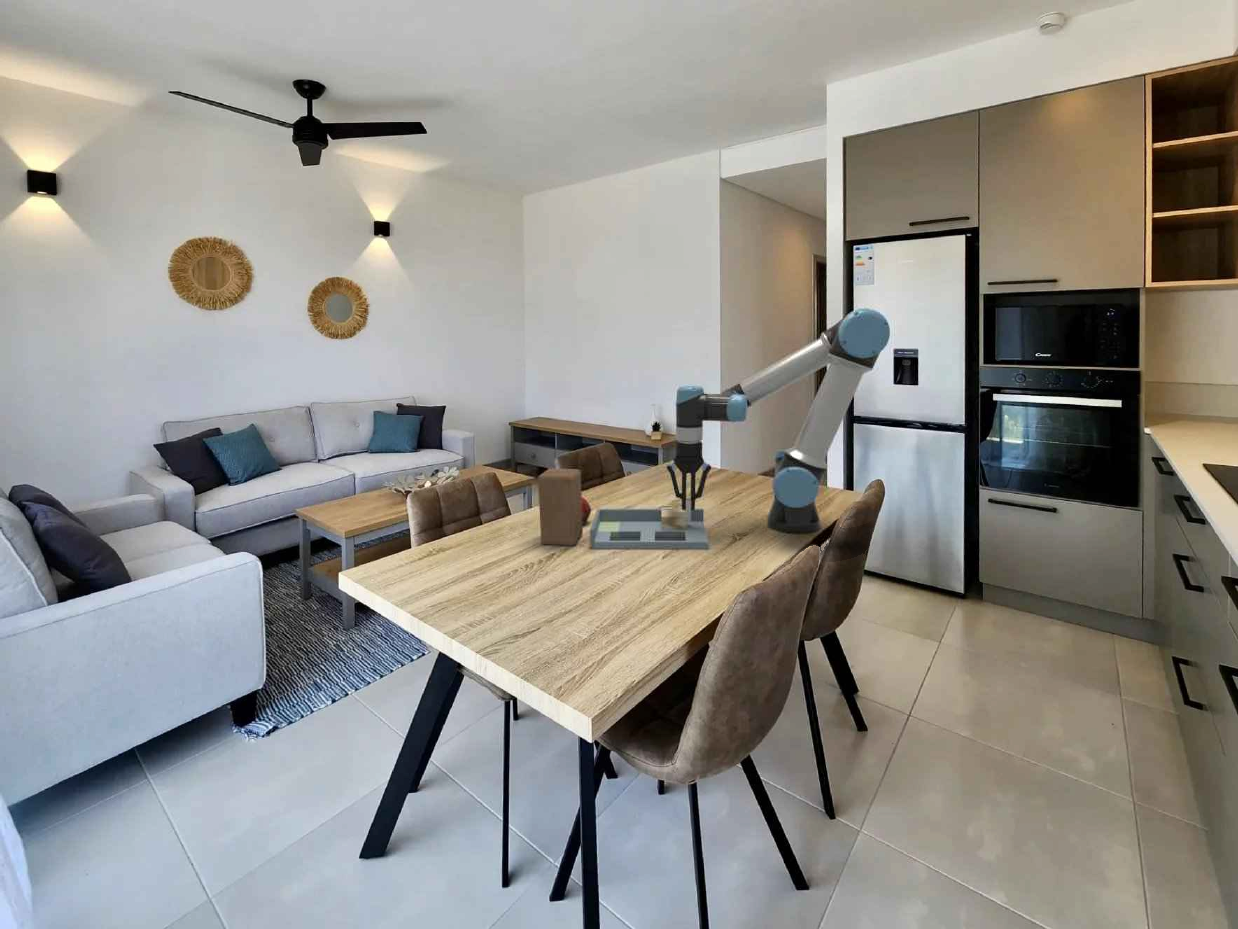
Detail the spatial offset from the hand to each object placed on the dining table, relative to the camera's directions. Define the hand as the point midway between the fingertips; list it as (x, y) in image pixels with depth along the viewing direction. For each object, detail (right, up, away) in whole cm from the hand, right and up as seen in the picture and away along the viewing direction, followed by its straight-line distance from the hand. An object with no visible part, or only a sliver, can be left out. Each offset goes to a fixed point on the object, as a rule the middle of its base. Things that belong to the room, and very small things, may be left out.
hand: (688, 520), depth 175 cm
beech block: (-4, -2, +1) cm, 5 cm away
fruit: (-33, -2, +12) cm, 36 cm away
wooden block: (-36, -5, -3) cm, 37 cm away
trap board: (-11, -5, -2) cm, 12 cm away
